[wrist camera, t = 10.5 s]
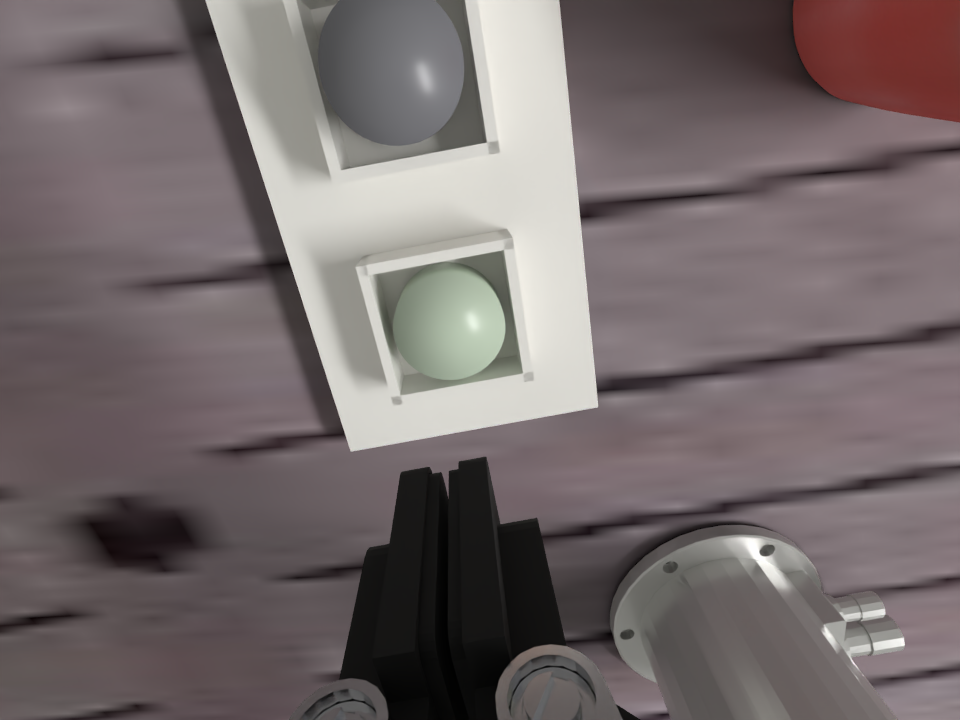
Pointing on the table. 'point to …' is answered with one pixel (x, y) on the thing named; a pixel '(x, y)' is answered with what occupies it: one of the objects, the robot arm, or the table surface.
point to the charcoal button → (391, 68)
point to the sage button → (449, 321)
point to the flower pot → (884, 52)
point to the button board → (425, 214)
